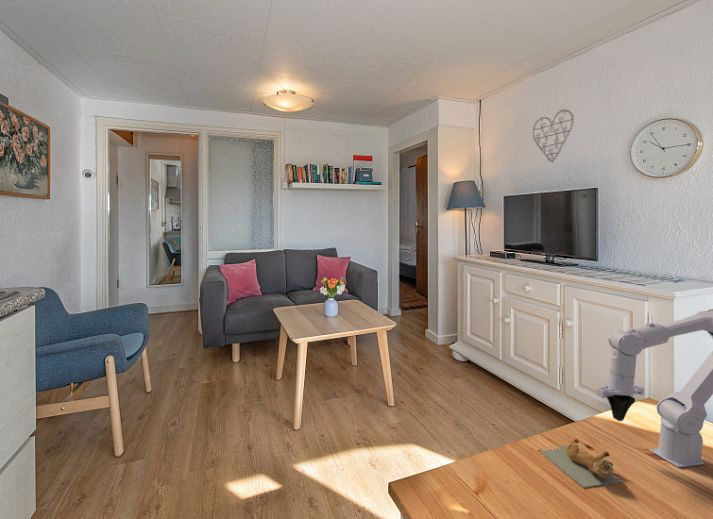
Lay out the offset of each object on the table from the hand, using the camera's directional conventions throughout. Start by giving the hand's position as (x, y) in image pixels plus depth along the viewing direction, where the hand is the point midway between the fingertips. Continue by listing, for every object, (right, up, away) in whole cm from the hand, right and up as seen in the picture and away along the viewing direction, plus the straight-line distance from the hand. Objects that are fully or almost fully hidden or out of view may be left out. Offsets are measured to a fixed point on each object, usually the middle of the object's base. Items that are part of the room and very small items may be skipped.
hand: (618, 419), depth 106 cm
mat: (-16, -9, -7) cm, 20 cm away
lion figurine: (-10, -6, -6) cm, 13 cm away
